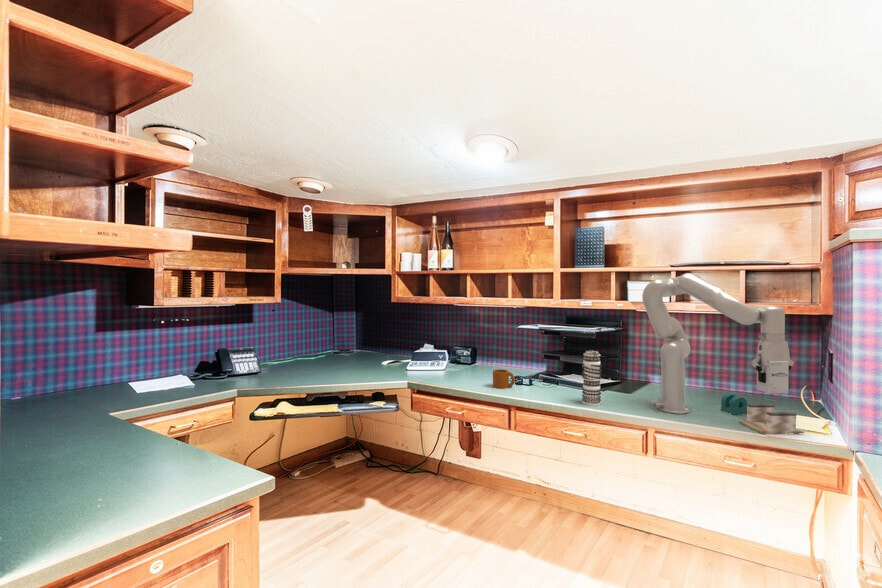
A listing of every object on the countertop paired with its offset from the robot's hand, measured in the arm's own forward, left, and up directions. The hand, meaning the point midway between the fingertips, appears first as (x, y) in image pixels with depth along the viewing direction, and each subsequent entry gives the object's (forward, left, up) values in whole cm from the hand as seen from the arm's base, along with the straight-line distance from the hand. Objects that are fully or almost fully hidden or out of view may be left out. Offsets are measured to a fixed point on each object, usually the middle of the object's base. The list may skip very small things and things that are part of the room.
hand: (772, 381), depth 170 cm
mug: (-97, +66, -19) cm, 119 cm away
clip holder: (0, 0, -19) cm, 19 cm away
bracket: (+5, +22, -19) cm, 29 cm away
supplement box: (0, 0, -4) cm, 4 cm away
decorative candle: (-59, +35, -19) cm, 71 cm away
